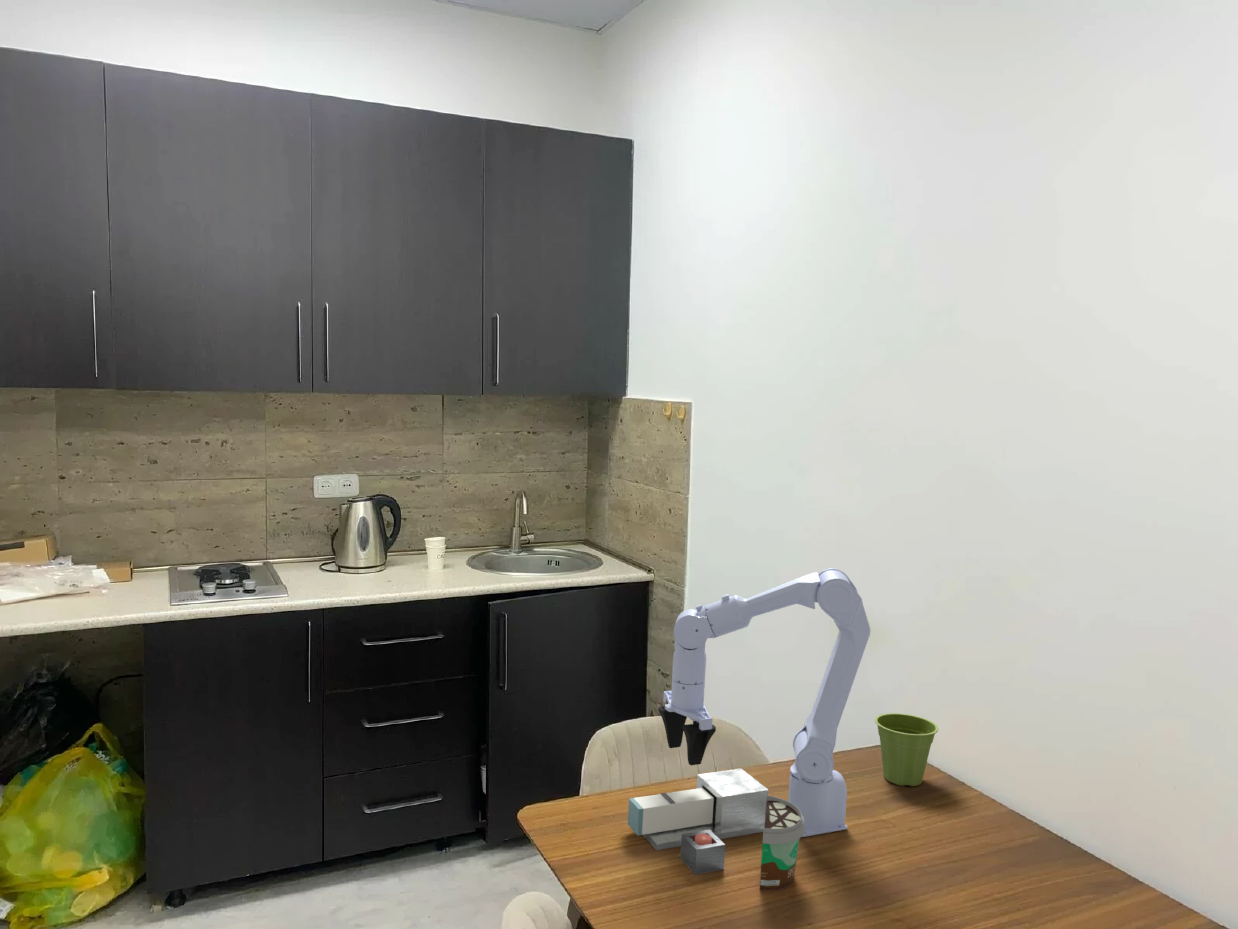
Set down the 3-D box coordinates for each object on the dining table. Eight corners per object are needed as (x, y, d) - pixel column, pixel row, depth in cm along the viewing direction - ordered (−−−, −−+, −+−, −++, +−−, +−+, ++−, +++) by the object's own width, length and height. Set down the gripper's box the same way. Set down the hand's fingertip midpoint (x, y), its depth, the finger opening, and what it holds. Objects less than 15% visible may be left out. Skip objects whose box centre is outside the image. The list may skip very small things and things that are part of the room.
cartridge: (701, 812, 155) (702, 786, 154) (712, 823, 151) (713, 796, 151) (627, 824, 149) (629, 797, 149) (637, 835, 146) (638, 808, 145)
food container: (801, 902, 131) (806, 836, 130) (759, 895, 132) (763, 830, 132) (801, 859, 143) (805, 799, 142) (762, 853, 145) (766, 793, 144)
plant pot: (936, 774, 179) (941, 719, 178) (931, 798, 168) (935, 739, 167) (875, 762, 184) (879, 708, 183) (866, 784, 173) (870, 727, 172)
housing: (738, 804, 161) (740, 767, 161) (768, 831, 152) (771, 791, 152) (631, 821, 153) (633, 782, 152) (656, 850, 144) (658, 808, 143)
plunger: (705, 857, 142) (706, 832, 142) (713, 865, 140) (714, 840, 139) (690, 859, 141) (692, 835, 141) (698, 868, 139) (700, 843, 138)
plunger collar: (708, 853, 144) (709, 829, 143) (723, 869, 139) (725, 844, 139) (680, 858, 142) (681, 834, 141) (695, 875, 137) (696, 849, 137)
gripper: (649, 669, 161) (646, 742, 163) (687, 695, 148) (683, 775, 149) (684, 665, 164) (680, 738, 165) (724, 691, 151) (720, 769, 152)
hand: (684, 755), depth 158 cm, fingers open, 7 cm apart
